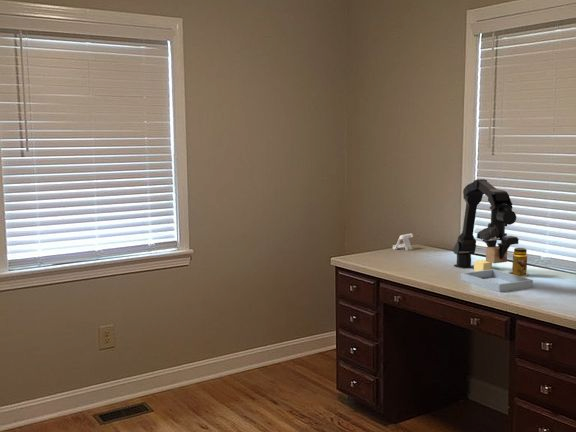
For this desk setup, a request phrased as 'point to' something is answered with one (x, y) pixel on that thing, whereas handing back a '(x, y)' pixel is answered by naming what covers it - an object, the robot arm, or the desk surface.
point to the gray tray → (514, 283)
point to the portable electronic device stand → (406, 242)
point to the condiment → (519, 262)
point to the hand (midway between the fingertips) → (496, 257)
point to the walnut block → (494, 255)
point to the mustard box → (482, 265)
